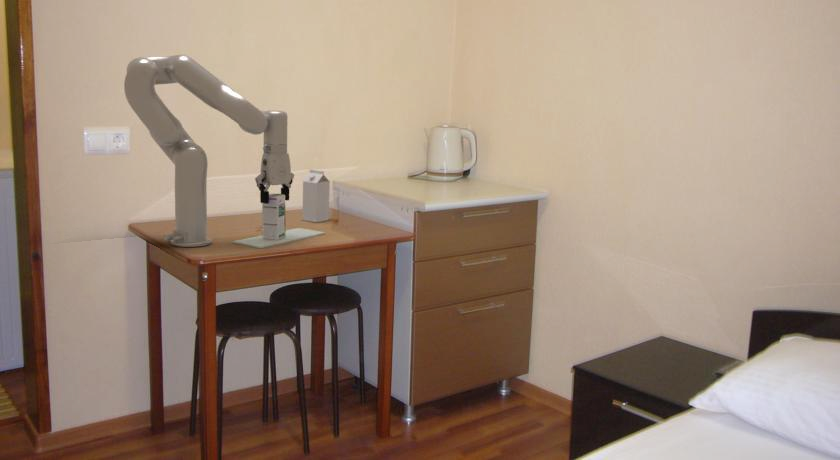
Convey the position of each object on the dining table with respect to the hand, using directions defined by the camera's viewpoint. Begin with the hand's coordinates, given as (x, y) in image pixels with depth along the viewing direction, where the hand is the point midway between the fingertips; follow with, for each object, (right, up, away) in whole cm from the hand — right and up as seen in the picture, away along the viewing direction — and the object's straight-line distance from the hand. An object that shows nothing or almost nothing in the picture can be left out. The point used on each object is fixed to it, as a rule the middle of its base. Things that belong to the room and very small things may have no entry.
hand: (274, 201), depth 253 cm
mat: (+1, -12, +5) cm, 13 cm away
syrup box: (-1, -12, +2) cm, 12 cm away
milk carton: (+8, -6, +40) cm, 41 cm away
